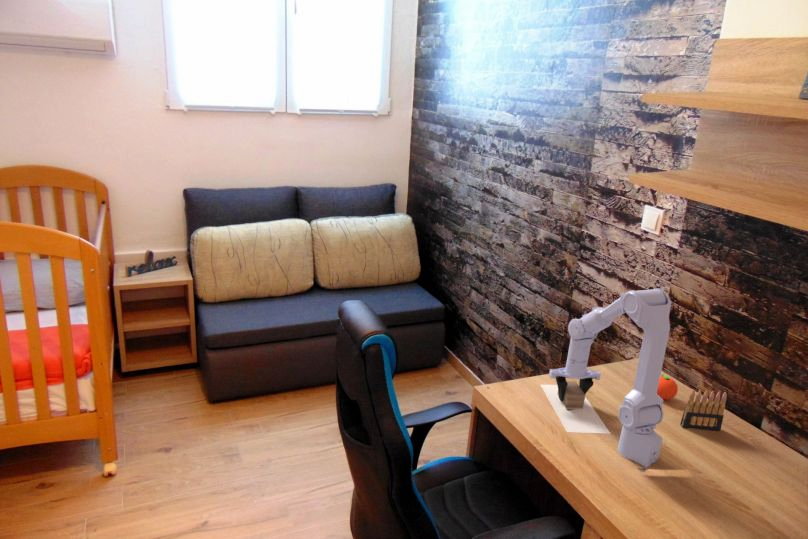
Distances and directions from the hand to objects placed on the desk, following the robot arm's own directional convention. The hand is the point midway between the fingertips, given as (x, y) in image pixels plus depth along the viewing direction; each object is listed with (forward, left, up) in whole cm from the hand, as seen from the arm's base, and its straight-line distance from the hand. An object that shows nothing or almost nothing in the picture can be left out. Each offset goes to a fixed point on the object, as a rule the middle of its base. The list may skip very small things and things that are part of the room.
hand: (570, 399), depth 178 cm
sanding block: (0, 0, -1) cm, 1 cm away
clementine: (-14, -30, -2) cm, 33 cm away
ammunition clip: (-29, -22, -2) cm, 37 cm away
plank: (-2, +2, -2) cm, 4 cm away
